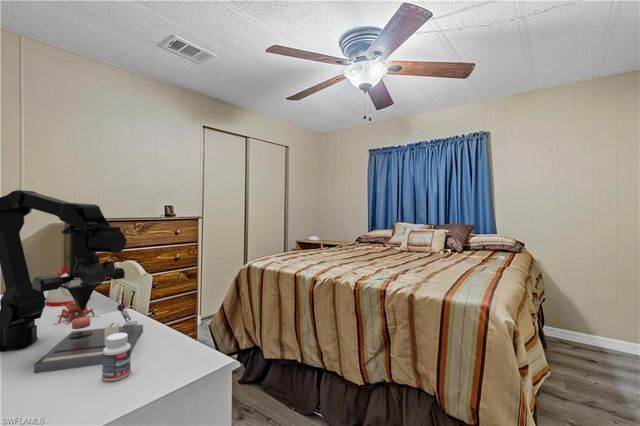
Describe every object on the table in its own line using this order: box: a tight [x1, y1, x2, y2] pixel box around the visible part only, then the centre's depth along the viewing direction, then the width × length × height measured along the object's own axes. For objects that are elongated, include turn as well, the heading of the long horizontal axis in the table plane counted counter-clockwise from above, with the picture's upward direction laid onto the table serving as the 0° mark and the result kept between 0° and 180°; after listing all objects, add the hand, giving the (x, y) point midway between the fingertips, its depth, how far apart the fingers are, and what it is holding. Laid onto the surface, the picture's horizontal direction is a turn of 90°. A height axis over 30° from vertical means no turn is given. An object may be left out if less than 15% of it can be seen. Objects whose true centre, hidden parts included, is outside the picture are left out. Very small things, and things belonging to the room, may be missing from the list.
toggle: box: [116, 303, 132, 323], centre depth 89 cm, size 2×2×5 cm
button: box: [71, 316, 91, 330], centre depth 86 cm, size 4×4×2 cm
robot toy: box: [53, 287, 100, 326], centre depth 106 cm, size 15×12×13 cm
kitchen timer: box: [45, 264, 91, 307], centre depth 124 cm, size 14×14×15 cm
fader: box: [104, 322, 120, 346], centre depth 80 cm, size 2×3×5 cm
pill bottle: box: [101, 333, 132, 382], centre depth 69 cm, size 5×5×9 cm
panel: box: [33, 320, 144, 374], centre depth 82 cm, size 18×20×4 cm
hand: (81, 310), depth 81 cm, fingers closed
